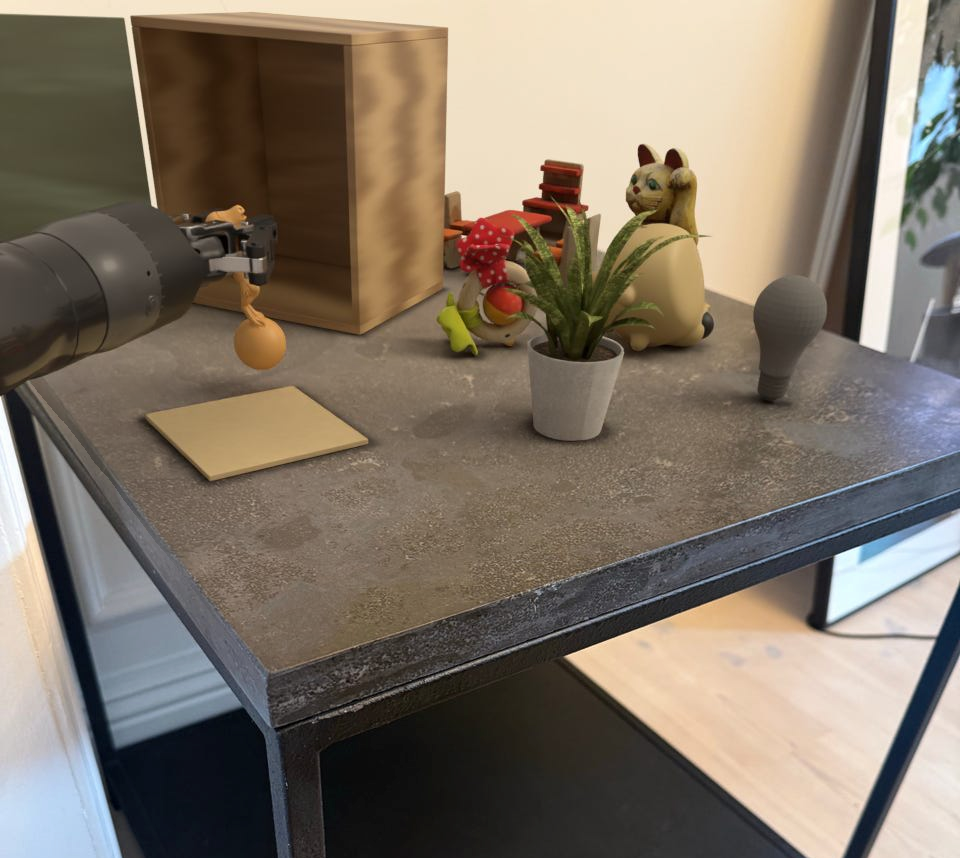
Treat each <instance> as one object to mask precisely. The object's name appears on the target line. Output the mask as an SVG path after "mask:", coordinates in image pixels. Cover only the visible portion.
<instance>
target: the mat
mask: <svg viewBox="0 0 960 858" xmlns="http://www.w3.org/2000/svg"><path fill="white" fill-rule="evenodd" d="M144 415H145V420H146V421H148V423H149V424H150V425H151V426H152V427H153V428H155V430H157V431H158V432H159V433H160V434H161V436H163V438H165V439H166V441H168V442H169V443H170V444H171V445H172V446H173V447H174V448H175V449H176V450H177V451H178V452H179V453H180V454H181V455H182V456H183V457H184V458H185V459H186V460H187V461H188V462H189V463H190V464H191V465H193V467H195V468H196V470H197V471H199V472H200V473H201V475H203V476H204V477H205V478H206V479H207V480H208V481H209V482H214V481H217V480H222V479H226V478H230V477H235V476H239V475H242V474H247V473H251V472H256V471H259V470H264V469H268V468H272V467H273V468H274V467H276V466H277V467H278V466H281V465H285V464H290V463H294V462H297V461H302V460H306V459H310V458H315V457H318V456H323V455H327V454H331V453H336V452H340V451H344V450H348V449H352V448H357V447H362V446H367V445H368V444H369V438H367V437H366V436H364V435H363V434H361V433H360V432H359V431H358V430H356V429H355V428H353V427H352V426H351V425H349V424H348V423H346V422H345V421H344V420H342V419H340V418H339V417H337V415H335V414H334V413H332V412H331V411H330V410H328V409H326V408H325V407H324V406H322V405H321V404H319V403H318V402H316V401H315V400H313V399H312V398H311V397H309V395H306V393H304V392H303V391H301V390H300V389H298V388H297V387H296V386H294V385H289V386H284V387H278V388H273V389H269V390H264V391H259V392H258V391H257V392H253V393H248V394H243V395H236V396H233V397H227V398H221V399H215V400H211V401H206V402H201V403H196V404H190V405H186V406H180V407H175V408H171V409H164V410H160V411H155V412H149V413H145V414H144Z"/></svg>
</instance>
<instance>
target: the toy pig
mask: <svg viewBox="0 0 960 858" xmlns="http://www.w3.org/2000/svg"><path fill="white" fill-rule="evenodd" d="M643 227H647V228H638V229H636V231H635V232H634V233H633V234H632V235H631V237H630V238H629V240H628V241H627V243H626V244H625V245H624V247H623V249H622V251H621V252H620V254H619V256H618V258H617V260H616V262H615V264H614V265H613V267H612V270H611V273H610V276H609V278H608V281H609V279H610V277H611V276H612V274H613V272H614V271H615V269H616V268H617V267H618V266H619V264H620V263H621V262H622V261H623V260H624V259H625V258H626V257H628V255H629V254H630V253H631V252H632V251H633V250H634V249H635V248H636V247H637V246H638V245H639V244H642V243H644V242H646V241H647V240H649V239H651V238H654V237H663V238H662V239H659V240H657V241H655V242H654V243H653V244H652V245H651V246H650V247H649V249H648V250H647V251H646V252H645V253H644V254H643V255H642V256H641V257H643V256H645V255H646V254H647V253H648V252H649V251H650V250H651V249H653V248H654V247H655V246H656V245H658V244H660V243H662V242H664V241H665V240H667V239H670V238H673V237H676V236H680V235H690V234H689V233H688V232H687V231H686V230H684V229H682V228H680V227H678V226H675V225H671V224H663V223H657V224H648V225H644V226H643ZM699 252H700V251H699V249H698V245H697V246H696V243H695V241H694V239H693V238H685V239H681V240H677V241H675V242H673V243H671V244H668V245H666V246H665V247H663V248H661V249H660V250H658V251H656V252H655V253H653V254H652V255H651V256H650V257H649V258H648V259H646V260H645V261H644V262H643V263H642V264H641V265H640V266H639V267H638V268H637V269H636V271H635V272H634V273H633V274H632V275H635V274H641V273H644V274H643V275H641V276H639V277H637V278H635V279H634V280H633V282H632V283H631V284H630V286H629V287H628V288H627V289H626V290H625V291H624V293H623V294H622V295H621V296H620V298H619V299H618V301H617V302H616V304H615V305H614V307H613V309H612V310H611V312H610V314H609V317H608V319H607V321H606V323H605V326H604V327H606V326H607V325H609V324H610V323H611V322H612V321H613V320H614V318H615V317H616V316H617V315H618V314H619V313H620V312H622V311H623V310H624V309H626V308H627V307H629V306H631V305H634V304H637V303H640V302H651V303H654V304H655V305H657V306H658V307H659V309H660V310H661V312H662V314H663V315H662V314H661V313H660V312H659V311H658V310H654V309H647V308H645V309H637V310H633V311H630V312H627V313H625V314H624V315H622V316H621V317H620V318H618V319H617V320H616V321H618V320H621V319H625V318H631V317H636V318H641V319H644V320H647V321H648V322H649V323H650V324H651V325H652V326H653V327H654V328H652V327H649V326H646V325H625V326H618V327H614V328H610V329H608V330H607V332H606V333H607V334H611V333H613V332H615V333H616V334H617V335H618V336H619V337H620V338H621V339H623V340H624V341H626V342H628V343H630V346H631V348H632V349H633V351H638V352H640V351H643V350H644V349H646V348H649V347H650V348H652V347H659V346H662V345H663V346H664V345H666V346H675V347H689V346H690V347H691V346H693V345H695V344H698V343H699V342H700V341H701V340H704V339H706V338H708V337H709V336H710V335H711V334H712V332H713V330H714V328H715V322H714V318H713V316H712V315H711V313H709V310H711V305H710V304H709V303H707V302H706V296H705V295H706V294H705V293H706V292H705V277H704V270H703V264H702V261H701V260H702V259H701V257H700V253H699ZM604 257H605V255H604V256H603V258H602V260H601V262H600V265H599V267H598V268H597V271H594V272H593V273H592V288H593V285H594V283H595V280H596V277H597V275H598V273H599V270H600V268H601V265H602V263H603V260H604ZM627 262H628V261H627ZM627 262H626V263H627ZM626 263H625V264H624V266H625V265H626ZM624 266H623V267H622V268H621V269H620V270H619V272H621V271H622V270H623V268H624ZM619 272H618V273H619ZM618 273H617V274H618ZM632 275H631V276H632ZM608 281H607V283H608ZM607 283H606V285H607ZM606 333H605V334H606Z"/></svg>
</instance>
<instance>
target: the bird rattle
mask: <svg viewBox="0 0 960 858" xmlns="http://www.w3.org/2000/svg"><path fill="white" fill-rule="evenodd" d="M484 218H485V217H479V218H478V219H477V220H475V221H476V222H475V224H474V226H473V228H472V231H471V233H470V235H468V236H464V237H462V239H459V240H458V241H457V246H456V248H457V251H458V253H459V254H460V256H461V257H462V258H461V261H460V266H459V267H460V270H461V271H462V272H464V273H467V274H468V275H467V277H466V278H465V280H464V282H463V283H462V286H461V288H460V289H459V293H458V298H457V301H456V302H455V298H454V293H453V292H452V291H450V292H449V293H448V294H447V298H446V301H445V305H446V306H445V307H444V308H443V309H441V310H440V312H439V314H438V315H437V317H436V322H437V323H438V325H440V326H441V329H442V331H444V332H445V333H446V336H447V337H448V339H449V342H450V347H451V350H452V351H454V352H455V353H460V352H462V351H464V350H465V349H466V348H467V347H468V349H469V350H470V352H471V353H472V355H473V356H475V357H477V356H478V353H479V350H478V348H477V346H476V344H475V342H474V340H473V338H472V336H471V334H472V335H474V336H475V337H477V338H479V339H481V340H484V341H487V342H491V343H493V342H494V343H502V344H504V345H505V346H508V347H512V346H513V345H514V344H515V341H516V339H517V337H518V336H519V335H521V334H522V333H523V332H524V331H525V330H526V329H527V328H528V327H529V325H530V324H531V322H532V321H531V320H527V319H522V318H512V317H510V318H508V317H509V316H511V315H512V314H514V313H516V312H525V313H527V314H529V315H531V316H532V317H533V318H535V315H536V312H537V309H538V308H536V307H535V306H533V305H531V304H530V303H528V302H527V301H525V300H524V299H523V298H521V297H520V296H518V295H516V294H513V293H510V292H508V291H507V290H505V289H504V288H509V289H516V290H517V288H518V287H517V284H523V283H525V282H528V281H530V279H529V277H528V275H527V272H526V269H525V267H522V266H521V265H520V264H518V263H516V262H515V261H511V260H506V256H507V255H508V253H509V249H510V246H511V244H512V241H513V240H512V239H513V238H514V232H513V231H512V230H511V229H510V228H508V227H496V226H494V225H493V224H491V223H490V222H488V221H487V220H486V219H484ZM499 234H500V235H499ZM502 235H504V236H502ZM505 236H507V237H505ZM508 237H509V238H508ZM510 238H512V239H510ZM470 272H471V273H470ZM486 289H487V290H486ZM482 290H486V292H485V293H483V292H482ZM518 290H521V291H524V292H527V293H530V294H532V295H535V296H537V294H536V291H535V289H534V288H532V287H530V286H528V285H525V284H523V285H521V286H520V287H519V288H518ZM479 295H480V296H482V297H483V300H482V310H483V311H482V312H483V314H484V316H485V317H486V319H487V320H488V321H489V322H488V321H486V320H484V318H483V317H482V315H481V313H480V311H481V310H480V304H479V301H478V300H477V299H478V296H479ZM537 297H538V296H537ZM507 318H508V319H507ZM470 333H471V334H470Z"/></svg>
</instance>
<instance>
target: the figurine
mask: <svg viewBox="0 0 960 858" xmlns="http://www.w3.org/2000/svg"><path fill="white" fill-rule="evenodd" d="M244 212H245V210H244V209H243V208H242V207H241V206H240V205H236V206H234V207H232V208H231V209H229V210H226V211H218V212H212V213H210V214H209V215H208V216H207V218H206V221H205V222H208V221H212V220H221V221H226V222H231V223H232V224H234V223H238V222H241V221H245V220H246V216H245V215H243V213H244ZM235 243H236V252H238V251H239V248H238V237H237V236H236V239H235ZM234 273H235V274H234V275H233V276H234V278H235V280H236V281H237V282H238V283H239V285H240V288H241V291H240V294H241V303H242V304H241V308H242V310H243V312H244V315H245V316H246V319H245V320H243V321H242V322H241V323H240V324H239V325H238V326H237V328H236V329H235V332H234V336H233V347H234V351H235V353H236V355H237V358H239V360H240V361H241V362H242V363H243V364H244V365H246V366H247V367H248V368H250V369H253V370H258V371H266V370H270V369H273V368H275V367H276V366H278V365H279V364H280V362H281V361H282V360H283V359H284V357H285V354H286V352H287V351H286V350H287V340H286V339H287V338H286V336H285V333H284V331H283V329H282V328H281V327H280V326H279V324H278V323H277V322H275V321H274V320H272V319H271V318H269V317H264V315H263V314H262V313H260V312H257V311H255V310H254V309H253V307H252V306H251V305H250V303H251V302H252V301H253V300H254V299H255V298H256V297H257V296H258V294H259V291H260V287H259V286H255V285H252V284H250V283H249V279H245V278H244V272H234ZM243 312H242V313H243Z"/></svg>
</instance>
